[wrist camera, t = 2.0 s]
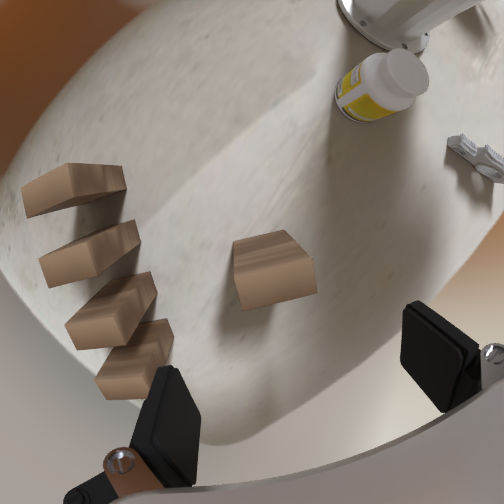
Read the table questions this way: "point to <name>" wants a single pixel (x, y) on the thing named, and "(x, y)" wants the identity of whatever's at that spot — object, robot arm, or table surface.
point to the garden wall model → (479, 157)
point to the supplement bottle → (381, 85)
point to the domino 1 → (71, 187)
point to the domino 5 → (271, 270)
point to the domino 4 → (136, 362)
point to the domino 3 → (112, 313)
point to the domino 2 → (89, 254)
